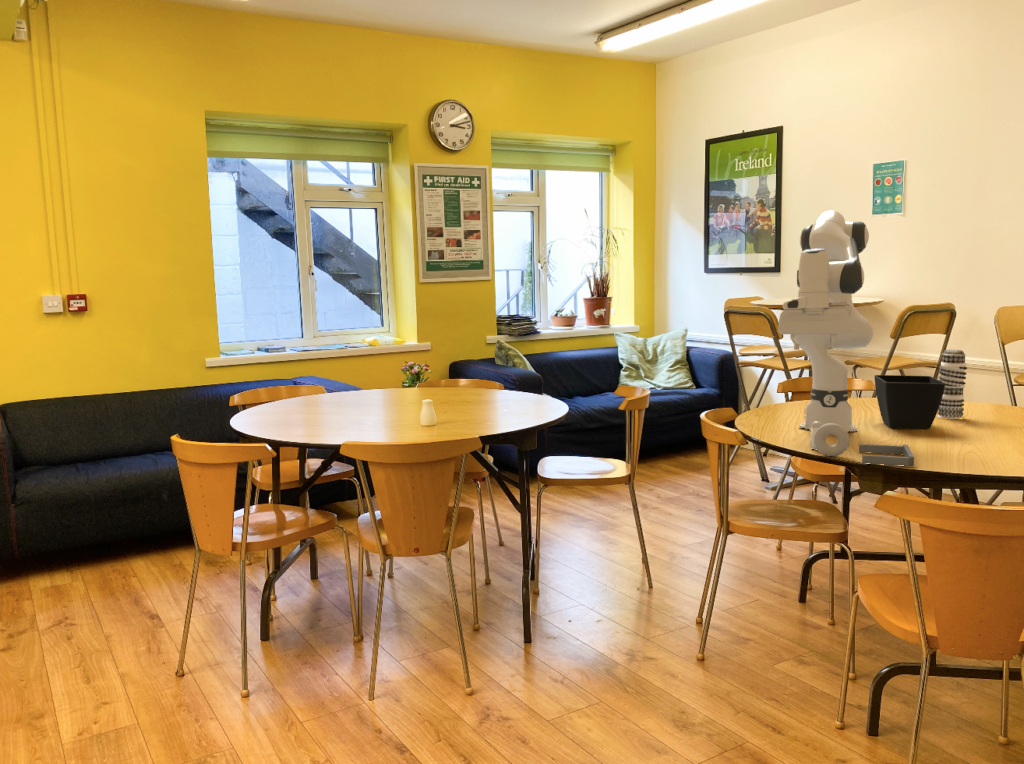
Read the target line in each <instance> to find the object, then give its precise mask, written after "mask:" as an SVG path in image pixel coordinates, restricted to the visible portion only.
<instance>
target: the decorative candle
mask: <svg viewBox="0 0 1024 764" xmlns="http://www.w3.org/2000/svg"><path fill="white" fill-rule="evenodd" d="M966 356H967V354H966V353H965V352H964V351H963V350H961V349H946V350H944V351H943V353H941V362H940V366H939V367H938V369H939V371H938V374H940V376H938V378H939V379H938V380H939V381H942V382H944V383H945V388H944V393H943V396H942V400H941V403H940V406H939V409H938V412H937V416H938V417H940V418H939V419H942V418H947V419H946V420H953V419H958V420H961V419H960V418H963V419H964V417H963V416H964V411H965V410H964V406H965V404H964V402H965V399H964V398H965V397H964V396H965V395H964V388H966V382H965V380H966V379H967V377H966V375H967V372H966V371H965V370H967V369H968V367H967V366H966ZM938 417H937V418H938Z"/></svg>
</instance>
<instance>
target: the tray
mask: <svg viewBox="0 0 1024 764" xmlns="http://www.w3.org/2000/svg"><path fill="white" fill-rule="evenodd" d="M859 452H871V453H870V454H862V455H861V464H862V463H870V464H884V465H904V466H915V456H914V454H913V452H912V450H911V448H910V447H909V444H902V445H889V444H871V443H870V444H869V443H867V444H865V443H859V444H858V453H859ZM873 453H884V454H883V455H876V454H875V455H874V454H873ZM871 454H873V455H871ZM891 454H903V455H902V456H893V455H892V456H891ZM886 455H887V456H886ZM888 455H890V456H888ZM884 465H883V466H884Z"/></svg>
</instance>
